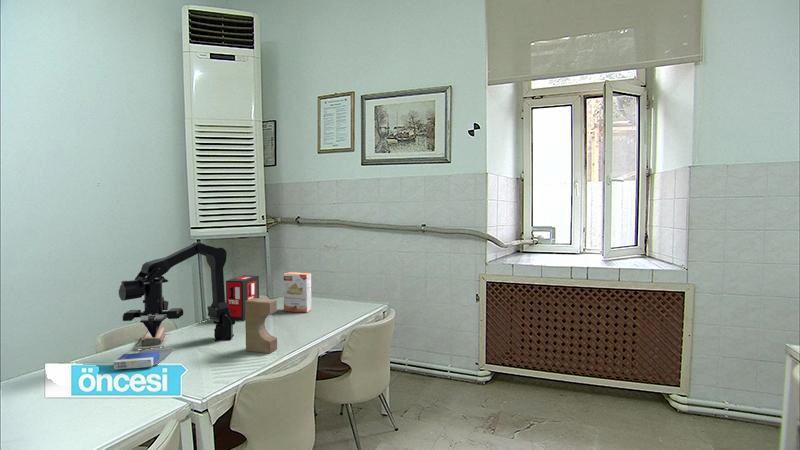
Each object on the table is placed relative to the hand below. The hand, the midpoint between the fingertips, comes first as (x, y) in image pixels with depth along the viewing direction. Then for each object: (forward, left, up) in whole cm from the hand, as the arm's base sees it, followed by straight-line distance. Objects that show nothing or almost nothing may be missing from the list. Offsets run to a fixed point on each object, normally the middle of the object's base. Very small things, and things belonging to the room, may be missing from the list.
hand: (154, 337), depth 149 cm
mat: (+2, 0, -8) cm, 8 cm away
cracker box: (-48, -62, -8) cm, 79 cm away
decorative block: (-38, -2, -8) cm, 39 cm away
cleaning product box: (-21, -56, -8) cm, 60 cm away
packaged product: (+8, -20, -9) cm, 23 cm away
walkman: (-3, +6, -6) cm, 9 cm away
